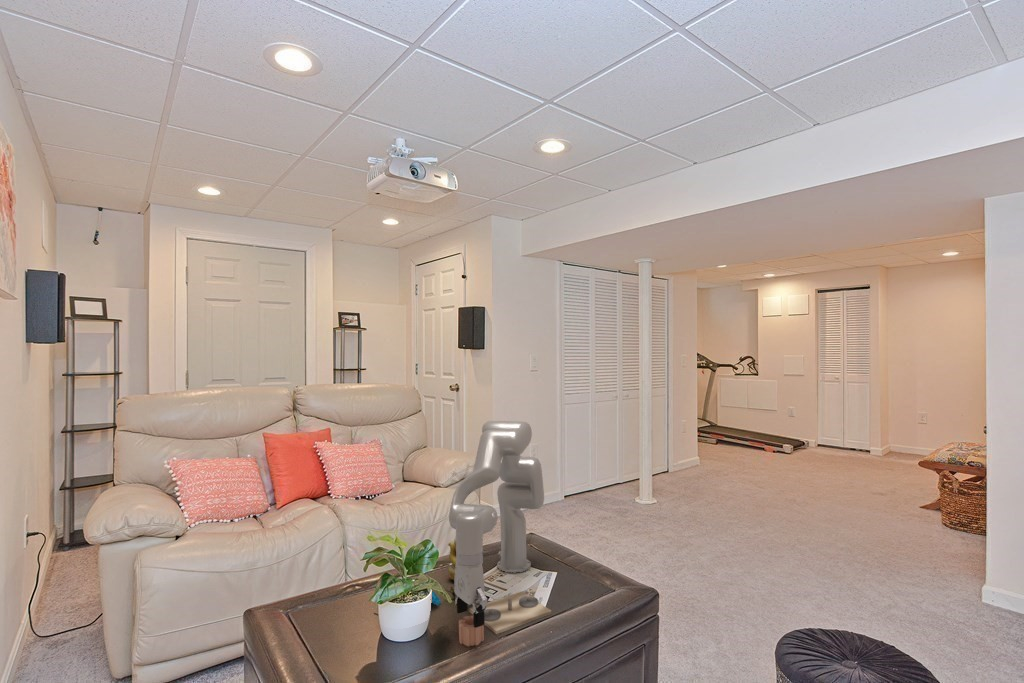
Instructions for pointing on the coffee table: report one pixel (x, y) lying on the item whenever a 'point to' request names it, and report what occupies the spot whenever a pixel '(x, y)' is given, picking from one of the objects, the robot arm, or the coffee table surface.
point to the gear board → (512, 612)
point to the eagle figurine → (455, 596)
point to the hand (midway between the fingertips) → (470, 618)
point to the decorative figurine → (452, 559)
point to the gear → (435, 599)
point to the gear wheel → (470, 632)
